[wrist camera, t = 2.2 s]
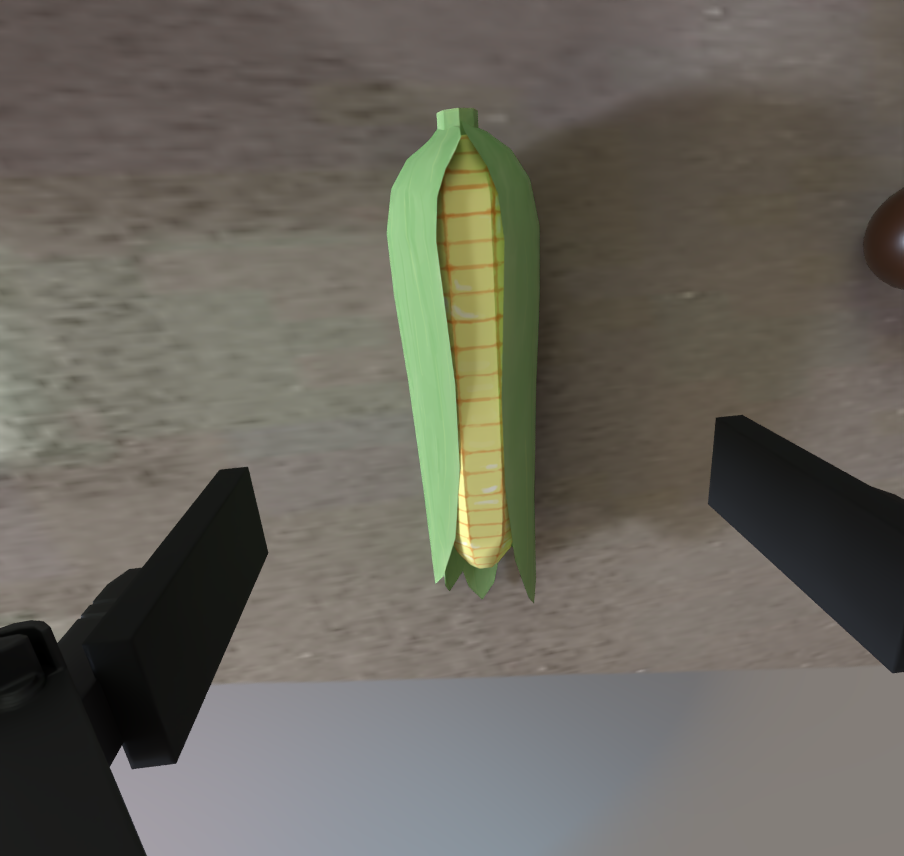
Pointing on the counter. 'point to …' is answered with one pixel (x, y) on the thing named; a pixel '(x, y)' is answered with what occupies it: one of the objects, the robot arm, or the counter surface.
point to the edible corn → (470, 344)
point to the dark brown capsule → (887, 241)
